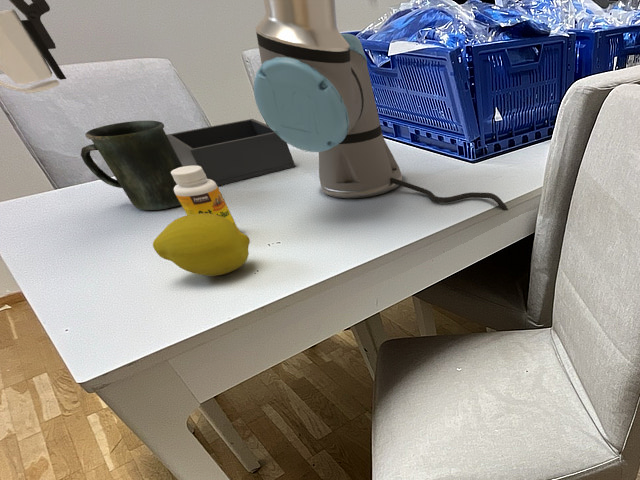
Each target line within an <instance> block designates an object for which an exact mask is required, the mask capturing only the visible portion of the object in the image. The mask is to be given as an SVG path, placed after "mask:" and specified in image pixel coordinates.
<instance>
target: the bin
mask: <svg viewBox="0 0 640 480" xmlns="http://www.w3.org/2000/svg"><path fill="white" fill-rule="evenodd" d="M166 135H167V137H168V139H169V141H170V143H171V145H172V147H173V149H174V150H175V152H176V154H177V156H178V158H179V160H180V162H181V164H182V166H183V167H184V166H193V165H196V166H201V167H202V169H203V171H204V173H205V174H206V177H207V179H210V180H213V181H214V182H215V183H216V184H217V186H218V187H219V186H224V185H227V184H231V183H235V182H239V181H243V180H248V179H251V178H255V177H260V176H265V175H268V174H271V173H275V172H279V171H283V170H288V169H291V168H295V167H296V164H295V162H294V159H293V156H292V153H291V150H290V147H289V144H288V143H287V142H285V141H284V140H282V139H281V138H280V137H279V136H278V135H277V134H276V133H275V132H274V131H273V130H272V129H271V128H270V127H269V126H268V125H267V123H263V122H262V121H259V120H256V119H254V118H249V119H243V120H238V121H233V122H228V123H222V124H217V125H216V124H215V125H212V126H206V127H200V128H195V129H190V130H184V131H183V130H182V131H178V132H174V133H166Z"/></svg>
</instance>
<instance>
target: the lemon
mask: <svg viewBox="0 0 640 480" xmlns="http://www.w3.org/2000/svg"><path fill="white" fill-rule="evenodd" d="M235 224H236V223H235ZM235 224H234V223H232V222H231V221H230V220H228V219H226V218H224V217H222V216H218V215H215V214H209V213H200V214H191V215H187V214H185V215H183V216H180V217H178V218H175V219H174V220H173V221H172V222H170V223H169V224H167V226H165V228H163V230H162V231H161V232H160V233H159V234H158V235H157V236H156V237H155V239H154V240H153V242H152V248H153V249H154V251H155V252H156V254H157V255H158V256H159V257H160V258H162V259H164V260H167V261H170V262H172V263H173V264H174V265H176V266H177V267H179V268H180V269H182V270H184V271H186V272H188V273H191V274H196V275H200V276H208V277H209V276H213V277H215V276H222V275H226V274H229V273H232V272H233V271H235V270H238V269H239V268H240V267H242V266H243V265H244V264H245V263H246V262H247V260H248V258H249V246H250V243H251V239H250V238H249V236H248V235H247V234H245V233H243V232H242V231H241V230H240V228H238V226H237V224H236V225H235Z"/></svg>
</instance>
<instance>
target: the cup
mask: <svg viewBox="0 0 640 480" xmlns="http://www.w3.org/2000/svg"><path fill="white" fill-rule="evenodd" d="M21 20H22V19H21V17H20V16H19V14H18V13H17V11H16V10H15V9H14V8H9V9H2V10H0V71H1V72H2V73H3V74H5V75H6V76H7V77H8V78H9V79H10V80H12V82H14V83H15V84H17V85H20V86H21V87H20V86H17V85H13V84H10V83H8V82H5V81H3V80H0V86H1V87H3V88H6V89H9V90H11V91H15V92H20V93H25V94H35V93H40V92H44V91H48V90H50V89H52V88H55V87H58V86H59V85H60V81H58V80H57V79H53V80H48V79H50V78H52V76H53V70H52V69H51V67H50V66H49V64H48V63H47V61H46V59H45V58H44V56H43V54H42V53H41V51H40V49H39V48H38V46H37V45H36V43H35V42H34V40H33V39H32V37H31V35H30V34H29V32H28V31H27V29H26V27H25V26H24V24H23V22H22V21H21ZM45 80H47V81H45ZM41 81H42V82H41ZM29 84H31V85H29ZM22 85H29V86H27V87H22Z"/></svg>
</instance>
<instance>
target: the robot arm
mask: <svg viewBox="0 0 640 480" xmlns="http://www.w3.org/2000/svg"><path fill="white" fill-rule="evenodd" d="M8 1H9V2H10V4H12V5H13V6H14V7H15V8H16V9H17V10H18V11H19V12H20V13H22V15H24V17H25V18H26V19H21V21H22V22H23V24H24V26H25V27H26V29H27V31H28V32H29V34H30V35H31V37H32V39H33V40H34V42H35V43H36V45H37V46H38V48H39V49H40V51H41V53H42V54H43V56H44V58H45V60H46V62H47V64H48V66H49V68H50V69H51V71H52V73H53V74H54V76H55V77H56V79H58V80H62V81H63V80H67V77H66V75H65V73H64V72H63V71H62V69H61V67H60V66H59V64H58V62H57V61H56V59H55V58H54V56H53V54H52V53H51V51H50V50H54V49H57V46H56V43H55V41H54V40H53V38H52V37H51V35H50V34H49V32H48V30H47V29H46V27H45V25H44V24H43V22H42V19H41V18H42V16H43V15H44V14H46V13H48V12H50V11H51V6H50V5H49V4H48V2H47V1H46V0H30V1H31V3H30V4H29V3H27V2H26V1H25V0H8ZM263 4H264V10H265V14H264V17H263V18H262V19H261V20H260V21H259V23H258V24H257V25H256V26H255V33H256V40H257V45H258V51H259V57H260V63H261V64H260V67H259V68H258V69H257V71H256V72H255V73H256V74H255V77H254V81H253V95H254V102H255V104H256V107H257V109H258V111H259V113H260V116H261V118H262V119H263V121H264V122H265V124H266V125H268V126H269V127H270V128H271V129H272V130H273V131H274V132H275V133H276V134H277V135H278V136H279V137H280V138H281V139H282V140H284V141H285V142H287V145H290V146H292V147H293V148H295V149H298V150H300V151H304V152H309V153H318V179H319V184H320V186H321V187H320V188H321V190H322V192H323V194H325V195H327V196H330V197H334V198H338V199H361V198H370V197H375V196H379V195H383V194H386V193H389V192H391V191H393V190H395V189H397V188H398V187H399V186H400V187H403V188H406V189H409V190H412V191H415V192H419V193H421V194H424V195H425V196H427V197H429V199H430V200H432V201H433V202H435V203H441V204H447V203H455V202H459V201H463V200H467V199H490V200H492V201H494V202H495V203H496V204H497V205H498V206H499V208H500V209H501V210H502V211H509V208H508V207H507V205H506V203H505V202H504V201H503V200H502V199H501V198H500V197H499V196H498V195H496V194H494V193H493V192H479V191H478V192H475V191H472V192H471V191H470V192H465V193H460V194H455V195H452V196H437V195H435V193H433V192H432V191H431V190H429V189H427V188H424V187H421V186H418V185H416V184H413V183H410V182H406V181H404V180H403V175H402V172H401V168H400V166H399V164H398V163H397V161H396V159H395V157H394V155H393V153H392V151H391V150H390V147H389V146H388V143H387V142H386V139H385V138H384V134H383V131H382V125H381V121H380V116H379V112H378V107H377V103H376V99H375V94H374V90H373V86H372V81H371V76H370V72H369V67H368V59H367V56H366V54H365V51H364V48H363V45H362V41H361V40H360V38H358V36H356V35H354V34H353V33H352V34H351V33H343V32H342V33H341V32H340V30H339V29H338V24H337V11H336V10H337V9H336V1H335V0H263Z"/></svg>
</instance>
